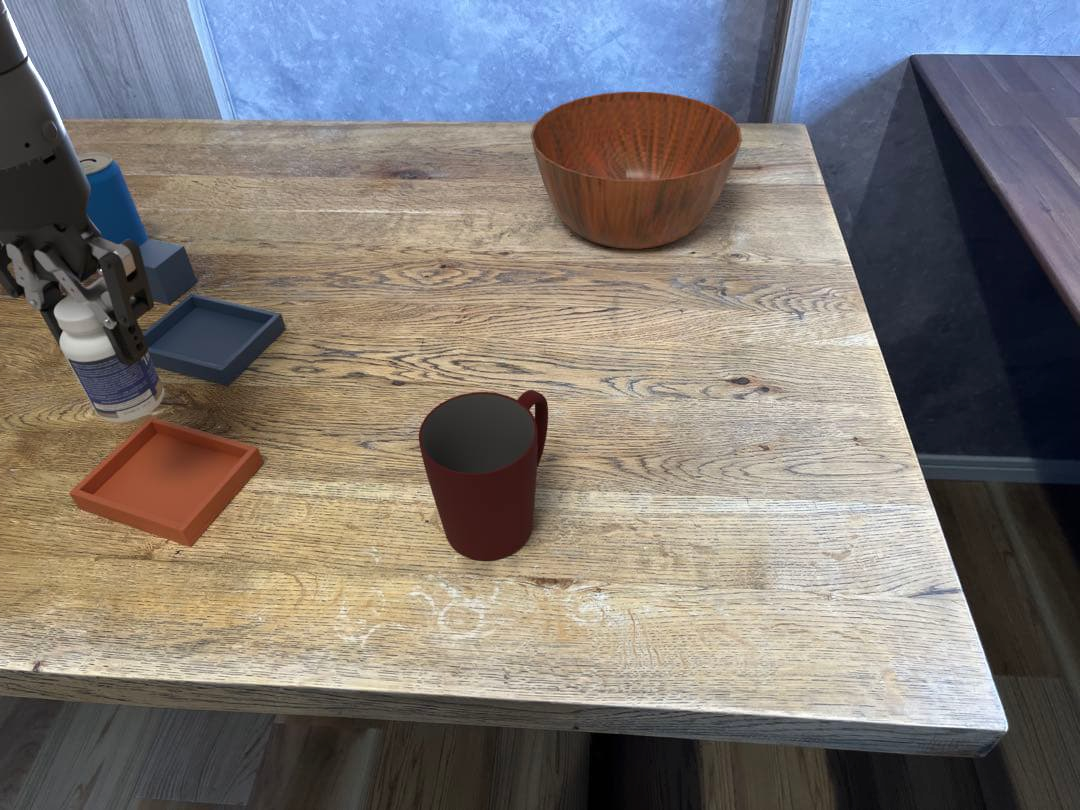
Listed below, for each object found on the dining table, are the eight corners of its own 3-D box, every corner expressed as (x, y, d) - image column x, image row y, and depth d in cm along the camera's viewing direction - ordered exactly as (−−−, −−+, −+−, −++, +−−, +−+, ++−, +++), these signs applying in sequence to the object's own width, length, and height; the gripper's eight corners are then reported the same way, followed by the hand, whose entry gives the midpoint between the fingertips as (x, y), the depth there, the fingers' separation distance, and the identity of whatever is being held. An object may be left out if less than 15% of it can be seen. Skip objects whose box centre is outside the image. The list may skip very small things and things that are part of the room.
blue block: (135, 297, 95) (119, 260, 92) (164, 274, 99) (150, 238, 95) (169, 305, 94) (154, 268, 91) (198, 282, 97) (184, 245, 94)
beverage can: (144, 233, 106) (108, 145, 98) (157, 254, 102) (120, 165, 94) (92, 249, 104) (51, 160, 96) (103, 271, 100) (61, 181, 92)
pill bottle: (177, 401, 66) (134, 302, 60) (114, 435, 64) (60, 335, 57) (147, 372, 69) (102, 275, 63) (85, 403, 66) (31, 305, 60)
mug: (508, 451, 75) (500, 357, 67) (585, 496, 70) (586, 401, 63) (414, 532, 68) (393, 438, 61) (493, 587, 64) (481, 493, 56)
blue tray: (134, 361, 86) (126, 345, 85) (196, 307, 93) (190, 292, 92) (228, 386, 83) (222, 370, 81) (286, 328, 90) (281, 313, 88)
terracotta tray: (78, 508, 71) (68, 492, 70) (158, 432, 78) (150, 416, 77) (190, 547, 68) (182, 531, 66) (264, 463, 75) (257, 447, 73)
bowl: (684, 292, 92) (694, 200, 85) (497, 240, 102) (490, 154, 94) (757, 196, 108) (770, 111, 100) (589, 159, 118) (589, 79, 110)
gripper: (-135, 149, 51) (-4, 360, 62) (38, 183, 47) (145, 402, 58) (-33, 103, 56) (71, 305, 67) (131, 130, 52) (212, 341, 63)
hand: (104, 349), depth 63 cm, fingers closed on pill bottle, 5 cm apart
